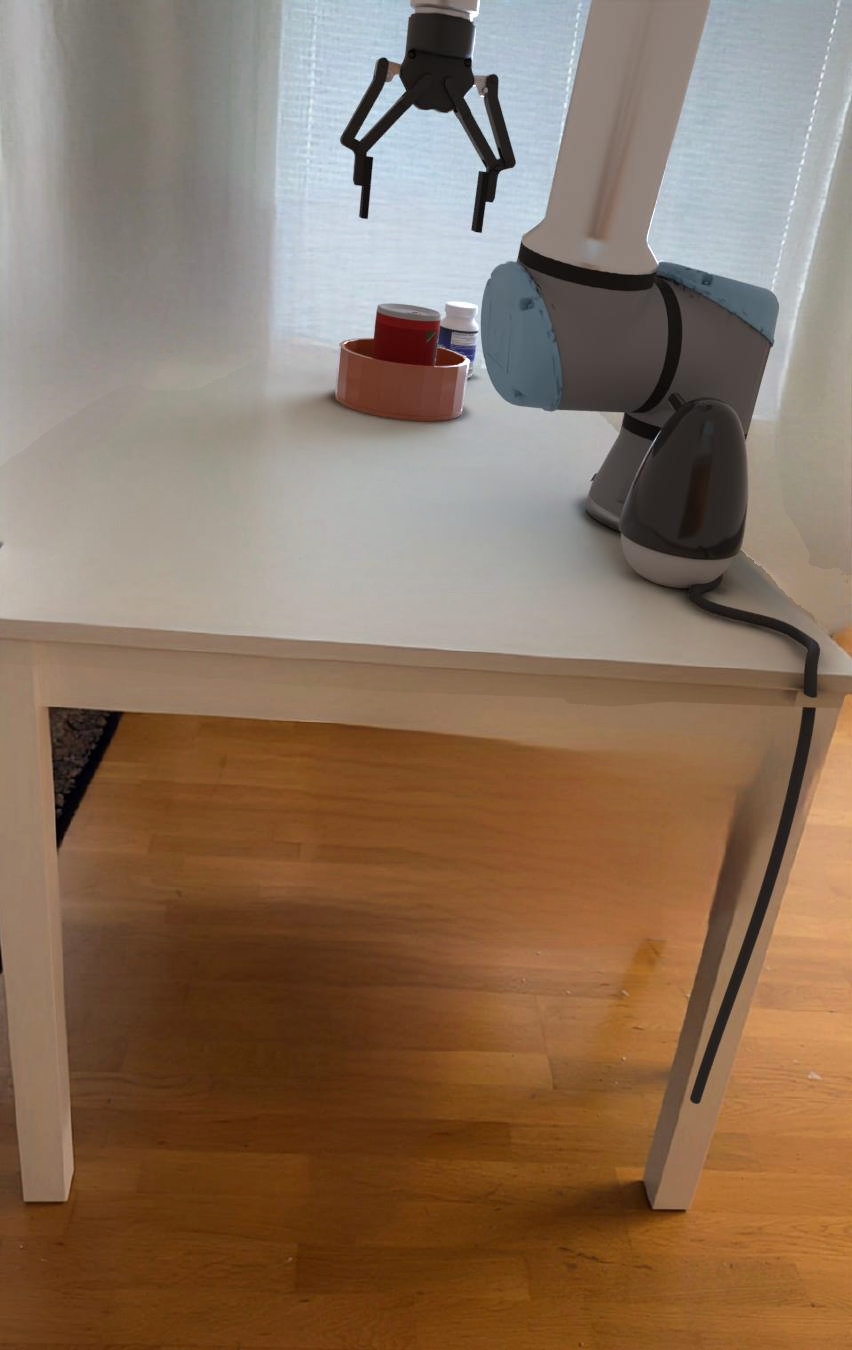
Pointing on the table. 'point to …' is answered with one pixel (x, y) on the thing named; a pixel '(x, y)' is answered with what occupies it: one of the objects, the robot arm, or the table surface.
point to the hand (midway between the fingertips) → (420, 225)
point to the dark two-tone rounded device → (688, 496)
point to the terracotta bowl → (400, 384)
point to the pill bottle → (460, 330)
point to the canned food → (406, 334)
